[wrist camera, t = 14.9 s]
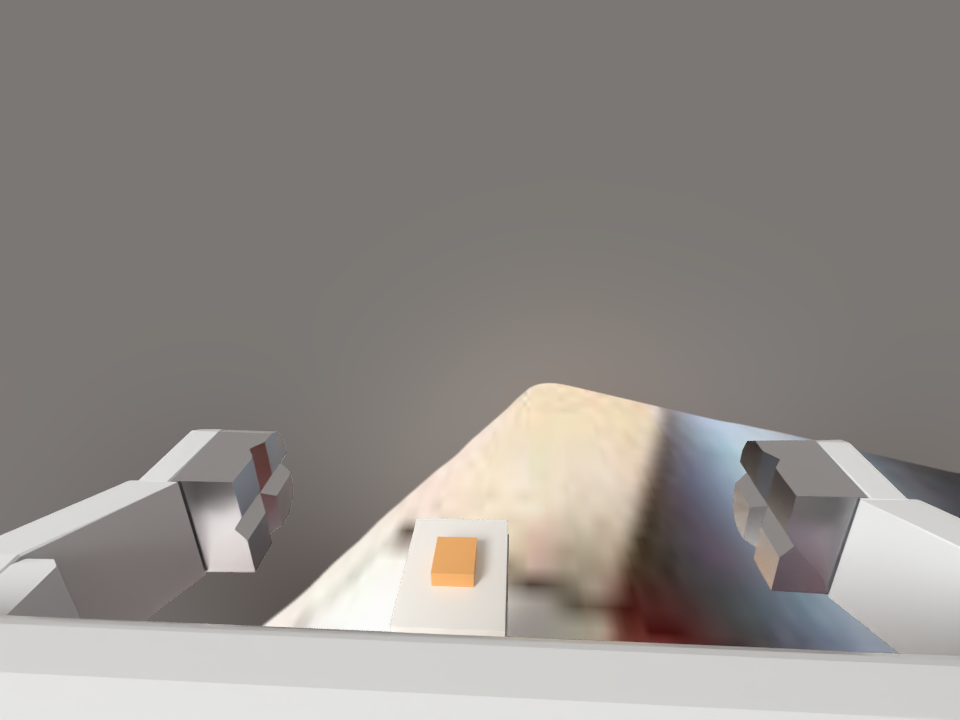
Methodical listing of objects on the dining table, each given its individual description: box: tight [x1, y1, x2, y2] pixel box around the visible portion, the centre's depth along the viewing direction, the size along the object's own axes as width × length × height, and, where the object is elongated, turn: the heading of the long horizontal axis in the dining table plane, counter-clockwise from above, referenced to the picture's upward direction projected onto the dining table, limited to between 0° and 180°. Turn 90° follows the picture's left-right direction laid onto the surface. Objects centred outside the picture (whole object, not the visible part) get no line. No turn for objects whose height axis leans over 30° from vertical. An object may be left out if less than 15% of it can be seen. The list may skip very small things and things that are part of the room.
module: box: [390, 518, 509, 637], centre depth 29 cm, size 7×5×15 cm
